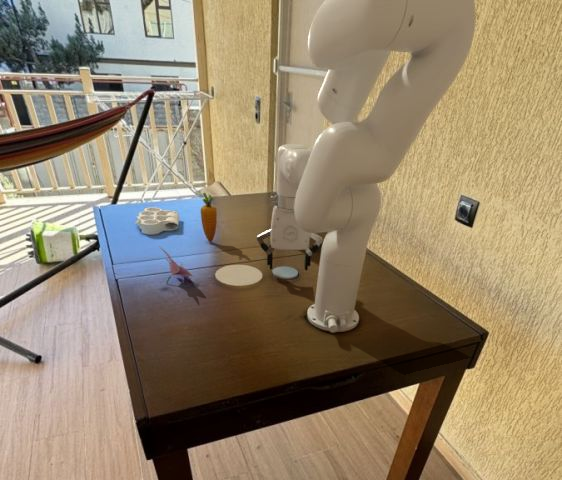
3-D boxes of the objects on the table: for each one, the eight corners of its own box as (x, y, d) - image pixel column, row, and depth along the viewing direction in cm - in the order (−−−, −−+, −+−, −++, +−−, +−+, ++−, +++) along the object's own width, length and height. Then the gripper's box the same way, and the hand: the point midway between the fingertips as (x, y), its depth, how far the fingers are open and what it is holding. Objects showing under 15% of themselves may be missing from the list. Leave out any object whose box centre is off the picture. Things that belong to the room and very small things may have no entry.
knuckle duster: (178, 234, 131) (132, 235, 129) (179, 216, 145) (138, 216, 142) (177, 224, 129) (130, 224, 126) (178, 207, 142) (136, 207, 140)
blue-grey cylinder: (298, 283, 109) (298, 278, 108) (272, 282, 108) (272, 276, 107) (297, 272, 114) (297, 266, 113) (272, 270, 114) (272, 265, 113)
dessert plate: (261, 290, 104) (261, 286, 103) (212, 288, 104) (212, 284, 103) (262, 269, 114) (263, 265, 113) (218, 267, 114) (217, 263, 113)
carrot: (219, 244, 127) (217, 195, 117) (204, 246, 125) (201, 196, 115) (216, 238, 130) (213, 190, 120) (201, 240, 128) (197, 191, 119)
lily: (194, 301, 100) (205, 264, 97) (147, 286, 95) (158, 247, 93) (190, 293, 110) (200, 260, 108) (147, 279, 106) (157, 244, 103)
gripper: (256, 204, 94) (256, 272, 105) (327, 207, 95) (320, 274, 105) (257, 197, 100) (257, 262, 111) (324, 199, 101) (318, 263, 111)
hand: (288, 267), depth 108 cm, fingers open, 9 cm apart
